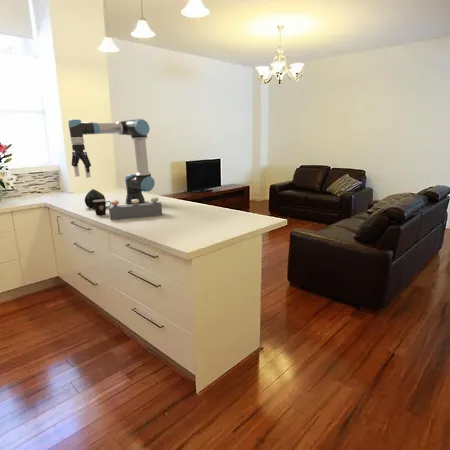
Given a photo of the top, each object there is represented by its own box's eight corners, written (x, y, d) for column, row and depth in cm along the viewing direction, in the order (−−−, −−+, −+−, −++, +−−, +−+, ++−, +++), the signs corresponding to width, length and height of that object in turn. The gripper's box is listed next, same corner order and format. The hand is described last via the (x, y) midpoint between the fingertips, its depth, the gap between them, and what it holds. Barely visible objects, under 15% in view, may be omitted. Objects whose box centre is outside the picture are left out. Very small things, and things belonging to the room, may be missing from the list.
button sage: (158, 203, 235) (158, 197, 234) (159, 205, 231) (158, 198, 229) (151, 204, 234) (150, 197, 233) (151, 205, 230) (151, 199, 228)
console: (161, 213, 238) (160, 201, 236) (162, 215, 232) (161, 203, 230) (111, 217, 231) (109, 206, 229) (110, 220, 224) (108, 208, 222)
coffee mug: (93, 216, 237) (91, 202, 235) (95, 213, 245) (93, 199, 243) (110, 214, 239) (109, 200, 237) (112, 212, 248) (110, 198, 245)
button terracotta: (119, 207, 229) (118, 200, 228) (119, 208, 225) (118, 201, 224) (112, 207, 228) (111, 201, 227) (111, 209, 224) (110, 202, 223)
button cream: (139, 205, 232) (138, 198, 231) (139, 206, 228) (138, 200, 227) (132, 206, 231) (131, 199, 230) (131, 207, 227) (131, 200, 226)
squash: (96, 203, 253) (101, 186, 260) (78, 204, 257) (83, 187, 263) (106, 212, 266) (110, 195, 272) (89, 213, 269) (93, 196, 276)
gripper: (62, 144, 225) (68, 176, 231) (82, 144, 210) (87, 178, 216) (73, 144, 231) (78, 175, 237) (93, 143, 216) (98, 177, 222)
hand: (82, 176), depth 226 cm, fingers open, 13 cm apart
